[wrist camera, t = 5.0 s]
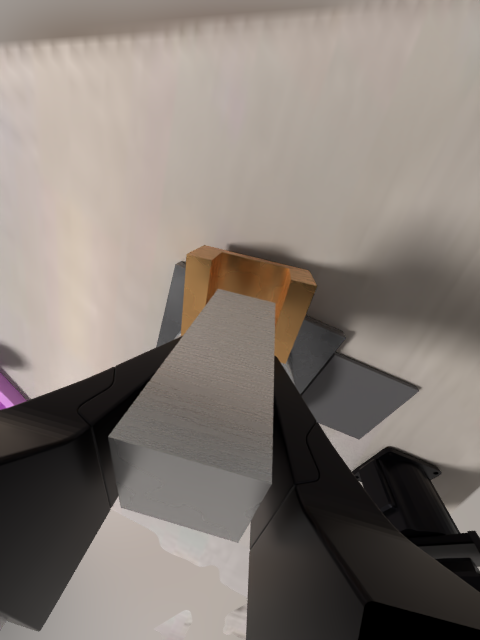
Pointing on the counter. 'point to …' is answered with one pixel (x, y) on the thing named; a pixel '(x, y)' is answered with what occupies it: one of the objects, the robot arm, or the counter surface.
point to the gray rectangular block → (204, 423)
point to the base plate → (306, 352)
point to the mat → (354, 396)
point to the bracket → (9, 394)
